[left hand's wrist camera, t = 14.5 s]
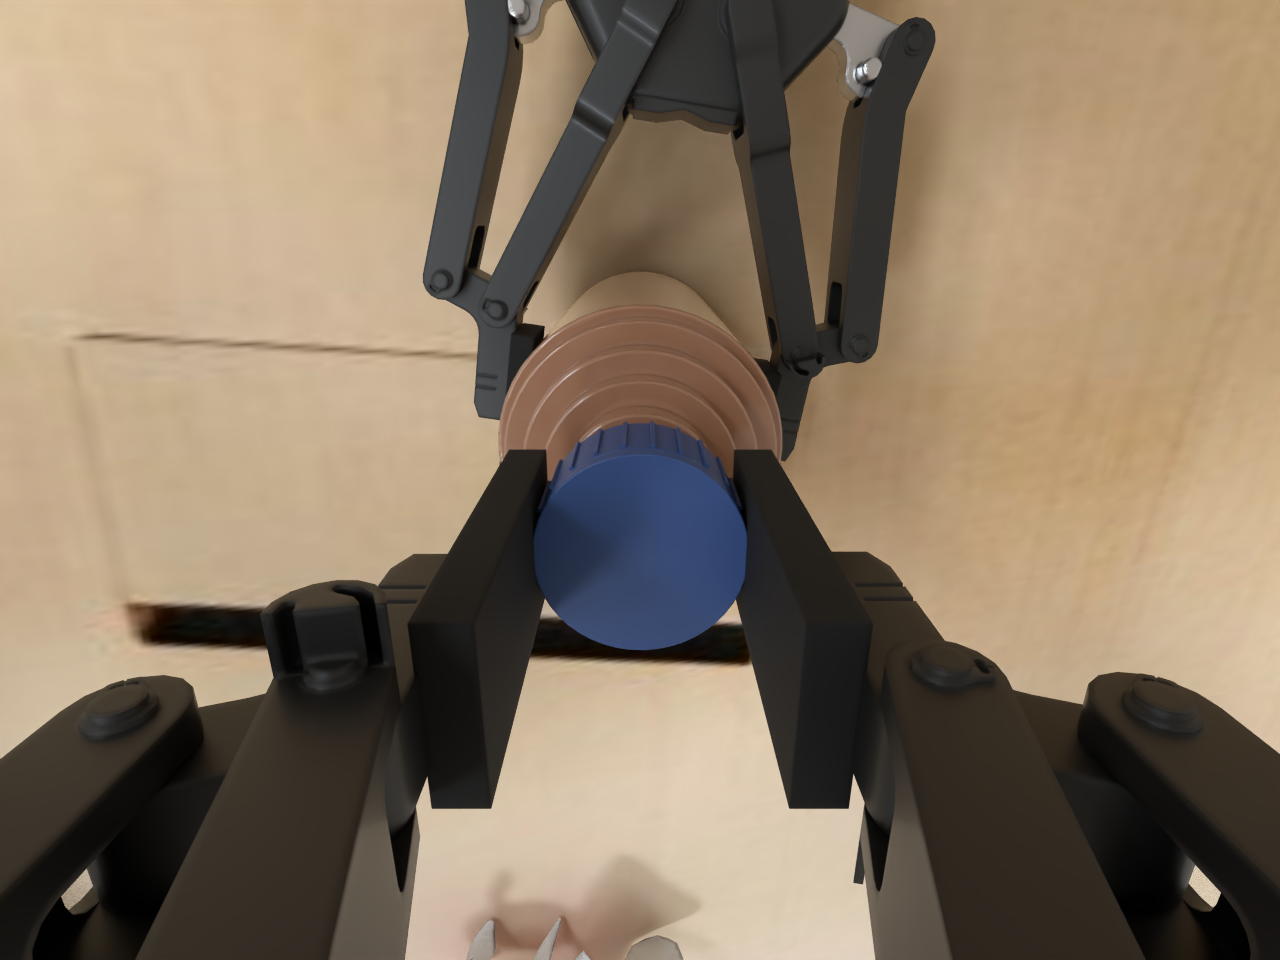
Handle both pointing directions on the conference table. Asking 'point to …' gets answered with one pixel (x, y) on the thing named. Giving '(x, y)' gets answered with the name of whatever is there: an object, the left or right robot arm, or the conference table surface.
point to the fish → (648, 956)
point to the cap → (640, 538)
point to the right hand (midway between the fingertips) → (621, 518)
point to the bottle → (640, 374)
